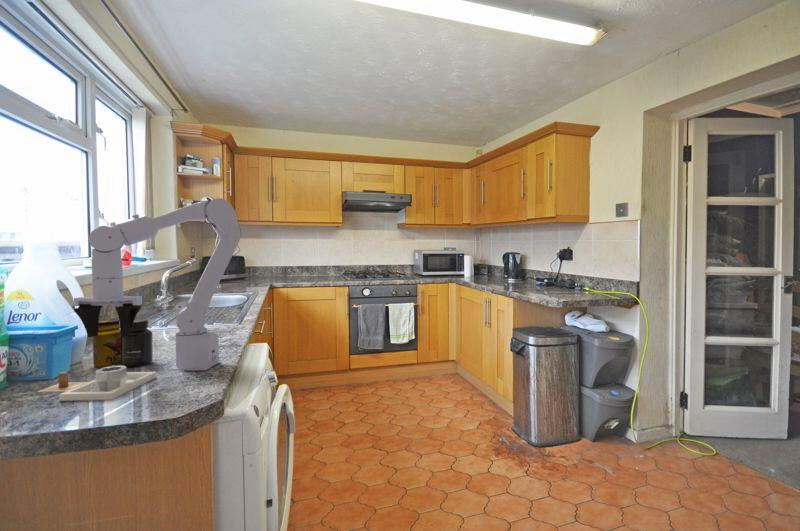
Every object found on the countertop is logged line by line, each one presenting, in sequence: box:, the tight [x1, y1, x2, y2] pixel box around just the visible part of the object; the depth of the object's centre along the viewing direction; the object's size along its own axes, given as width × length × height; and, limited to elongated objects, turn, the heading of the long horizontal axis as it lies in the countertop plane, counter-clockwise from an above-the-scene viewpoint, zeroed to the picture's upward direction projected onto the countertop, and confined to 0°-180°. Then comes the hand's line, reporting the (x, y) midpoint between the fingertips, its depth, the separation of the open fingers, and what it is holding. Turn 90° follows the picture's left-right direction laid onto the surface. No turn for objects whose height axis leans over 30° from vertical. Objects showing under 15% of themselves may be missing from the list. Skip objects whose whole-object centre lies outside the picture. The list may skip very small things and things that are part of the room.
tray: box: [58, 371, 157, 402], centre depth 81 cm, size 10×14×2 cm
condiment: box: [92, 319, 121, 368], centre depth 100 cm, size 7×8×12 cm
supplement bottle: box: [120, 319, 154, 369], centre depth 99 cm, size 7×7×12 cm
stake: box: [36, 371, 89, 393], centre depth 82 cm, size 6×6×4 cm
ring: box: [92, 365, 128, 392], centre depth 80 cm, size 5×7×4 cm
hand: (109, 336), depth 90 cm, fingers open, 7 cm apart
